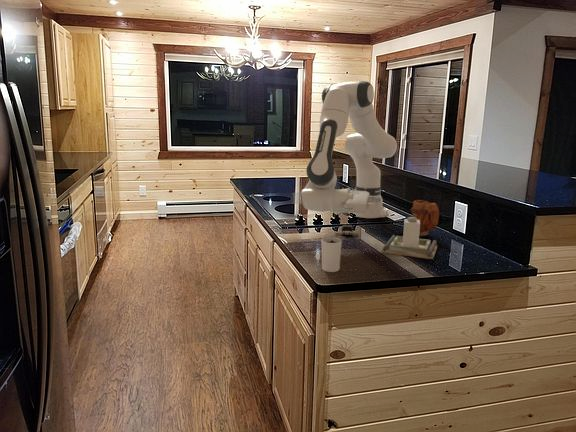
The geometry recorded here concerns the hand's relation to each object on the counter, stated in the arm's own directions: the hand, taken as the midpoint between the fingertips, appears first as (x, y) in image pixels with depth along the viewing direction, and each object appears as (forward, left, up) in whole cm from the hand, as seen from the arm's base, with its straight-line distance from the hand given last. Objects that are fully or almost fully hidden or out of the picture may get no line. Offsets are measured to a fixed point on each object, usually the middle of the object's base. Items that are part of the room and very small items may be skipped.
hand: (380, 202), depth 173 cm
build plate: (-11, -15, -18) cm, 26 cm away
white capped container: (-2, +12, -16) cm, 20 cm away
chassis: (-2, +12, -17) cm, 21 cm away
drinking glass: (+29, -9, -18) cm, 35 cm away
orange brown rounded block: (-22, +14, -18) cm, 31 cm away
